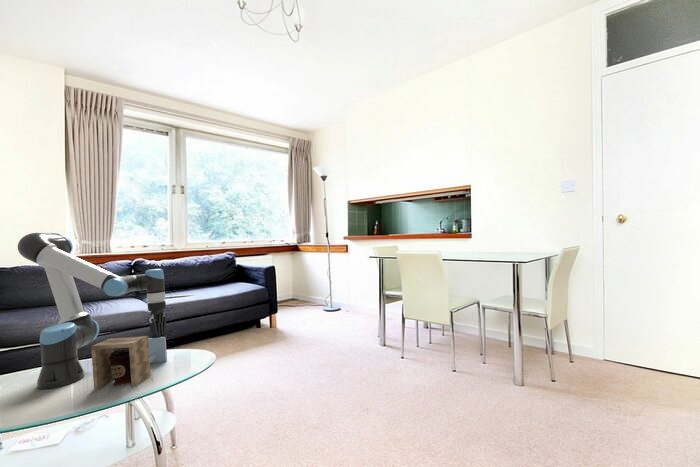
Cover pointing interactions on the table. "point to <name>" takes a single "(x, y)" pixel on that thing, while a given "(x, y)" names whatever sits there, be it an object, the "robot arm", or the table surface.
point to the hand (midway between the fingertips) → (159, 351)
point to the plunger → (157, 349)
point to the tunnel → (137, 359)
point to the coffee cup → (120, 367)
